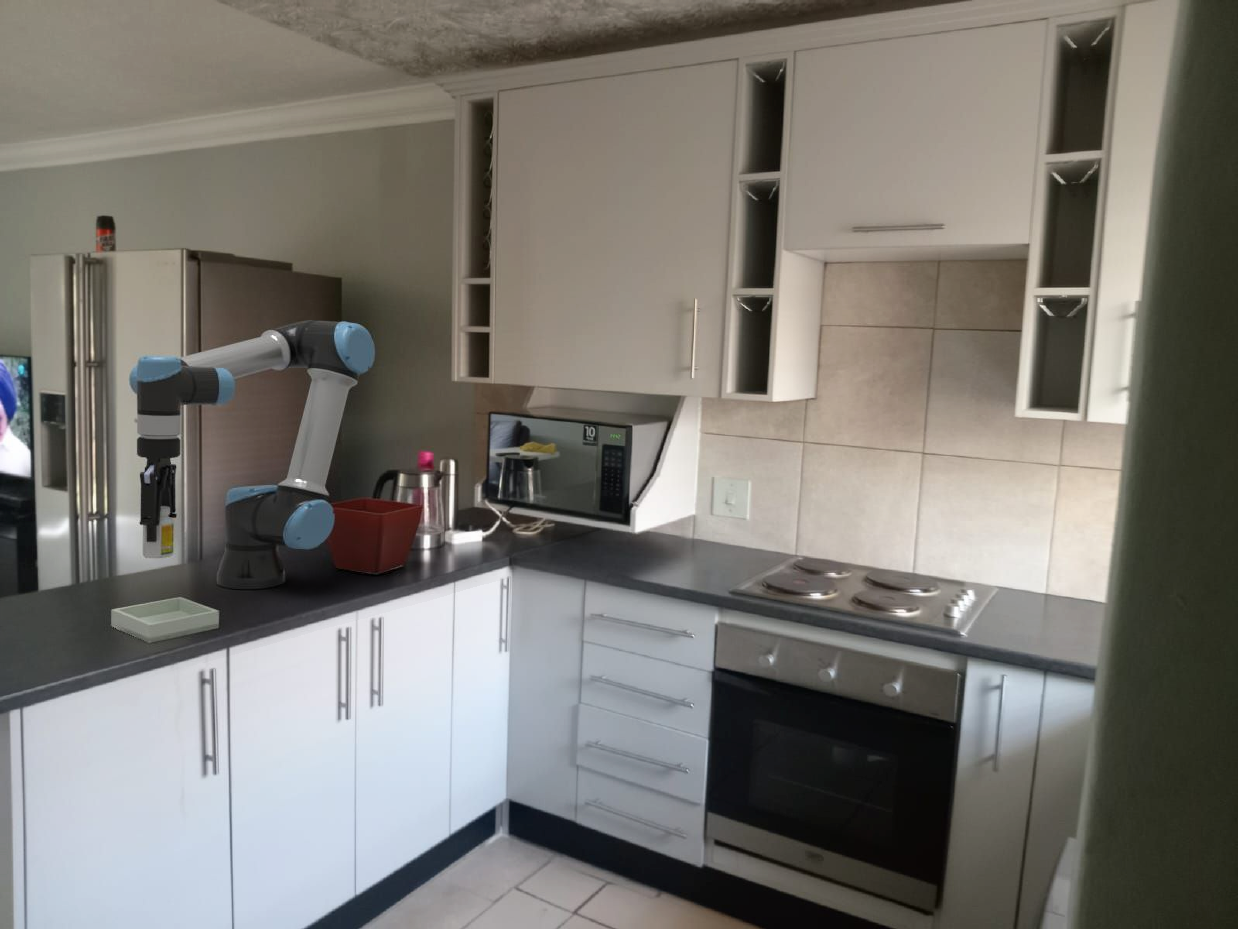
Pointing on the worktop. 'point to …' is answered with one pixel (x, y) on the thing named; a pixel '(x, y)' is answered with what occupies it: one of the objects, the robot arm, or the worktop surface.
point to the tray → (164, 619)
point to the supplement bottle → (164, 533)
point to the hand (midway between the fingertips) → (158, 554)
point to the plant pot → (372, 534)
